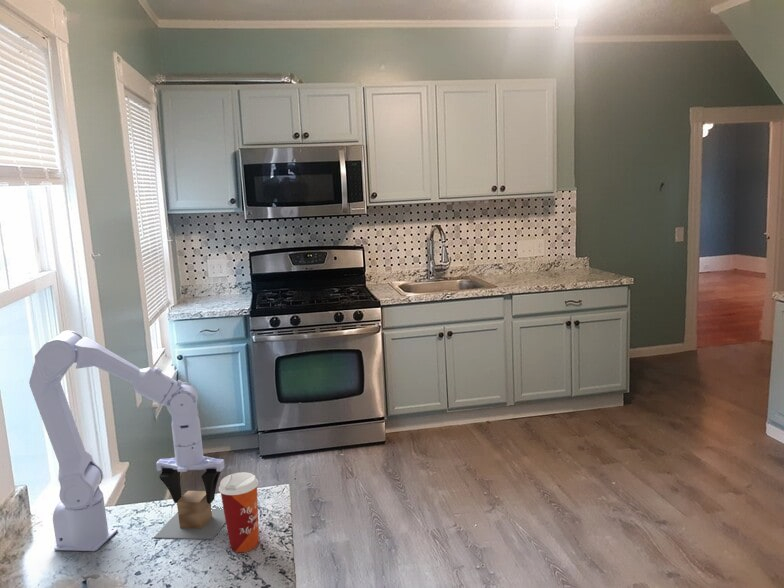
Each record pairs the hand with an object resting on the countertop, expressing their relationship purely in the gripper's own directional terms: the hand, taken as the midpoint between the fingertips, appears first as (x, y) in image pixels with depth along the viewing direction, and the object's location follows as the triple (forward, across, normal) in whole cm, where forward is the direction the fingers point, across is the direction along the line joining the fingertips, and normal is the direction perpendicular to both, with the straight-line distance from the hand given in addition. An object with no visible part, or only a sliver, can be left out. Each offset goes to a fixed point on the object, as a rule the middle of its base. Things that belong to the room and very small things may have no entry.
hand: (194, 501), depth 133 cm
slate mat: (+5, 0, 0) cm, 5 cm away
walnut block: (+5, 0, 0) cm, 5 cm away
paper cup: (+5, +14, -8) cm, 17 cm away
